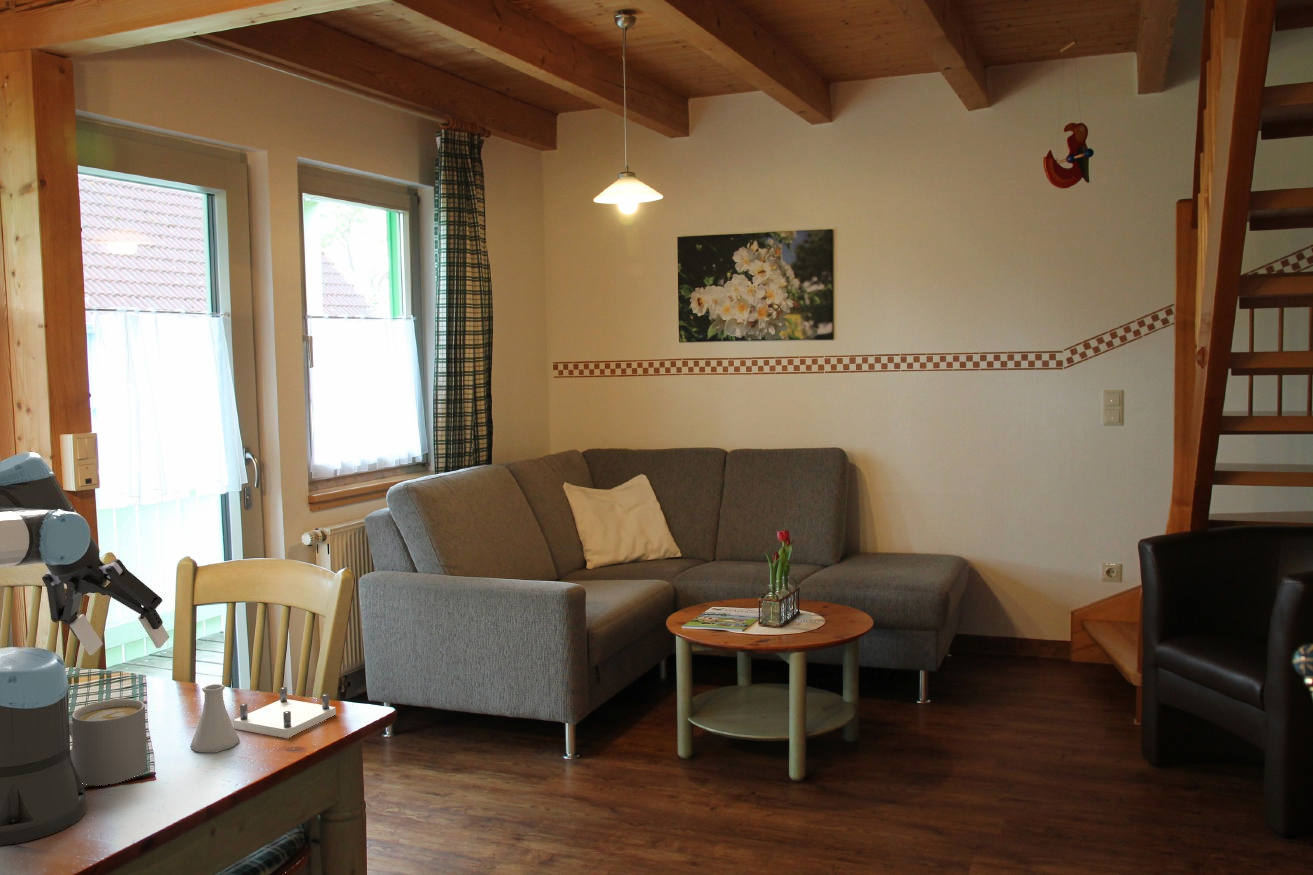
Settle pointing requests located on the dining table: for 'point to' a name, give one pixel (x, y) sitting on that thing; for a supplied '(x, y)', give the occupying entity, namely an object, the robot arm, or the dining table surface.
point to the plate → (272, 718)
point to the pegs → (287, 713)
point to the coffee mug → (109, 741)
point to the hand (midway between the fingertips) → (129, 646)
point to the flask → (214, 723)
